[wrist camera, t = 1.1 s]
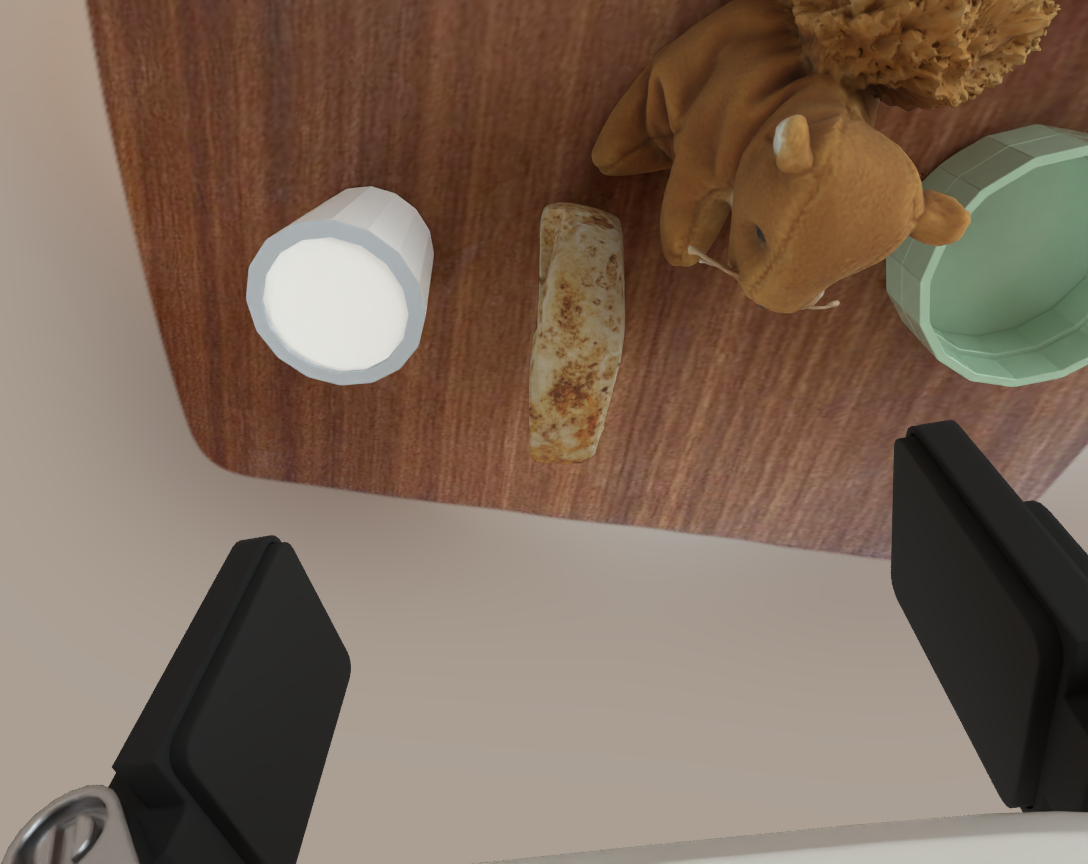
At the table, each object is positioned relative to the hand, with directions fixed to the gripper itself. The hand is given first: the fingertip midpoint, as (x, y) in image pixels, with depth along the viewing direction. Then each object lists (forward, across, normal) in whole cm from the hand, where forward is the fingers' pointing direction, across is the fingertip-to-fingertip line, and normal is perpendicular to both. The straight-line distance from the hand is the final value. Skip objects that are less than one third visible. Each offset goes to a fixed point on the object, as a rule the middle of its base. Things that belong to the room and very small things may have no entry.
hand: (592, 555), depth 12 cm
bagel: (+25, +1, +6) cm, 26 cm away
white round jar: (+25, +10, +2) cm, 27 cm away
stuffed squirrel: (+25, -9, -2) cm, 27 cm away
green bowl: (+25, -18, +7) cm, 32 cm away
